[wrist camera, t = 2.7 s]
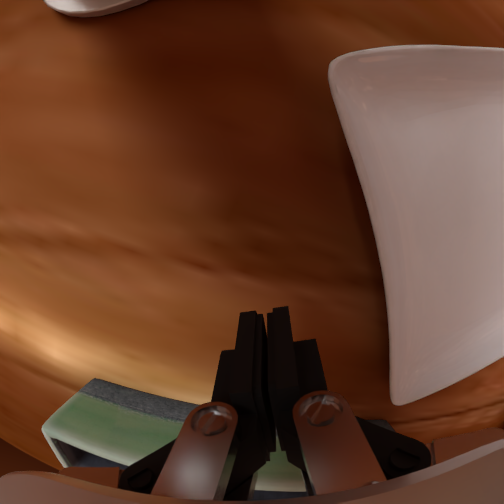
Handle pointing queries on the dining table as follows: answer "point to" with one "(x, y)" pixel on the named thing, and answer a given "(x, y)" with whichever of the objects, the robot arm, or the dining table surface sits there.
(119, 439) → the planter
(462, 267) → the salad plate
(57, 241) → the dining table surface
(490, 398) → the dining table surface
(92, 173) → the dining table surface
